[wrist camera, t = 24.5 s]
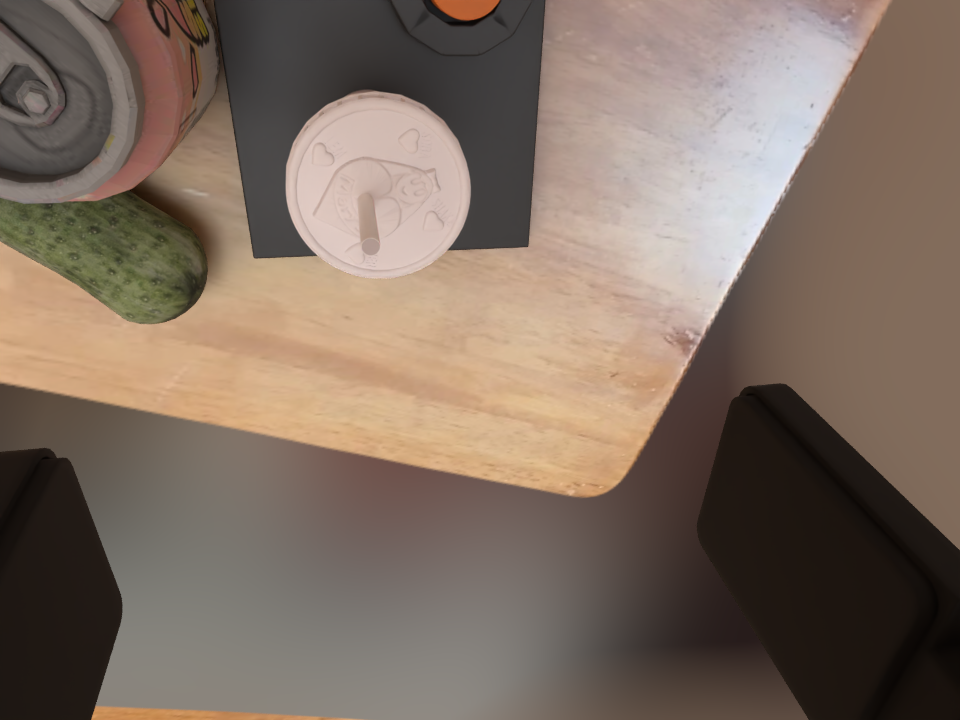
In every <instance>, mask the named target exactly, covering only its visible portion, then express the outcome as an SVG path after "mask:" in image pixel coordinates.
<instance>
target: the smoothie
mask: <svg viewBox="0 0 960 720" xmlns="http://www.w3.org/2000/svg"><path fill="white" fill-rule="evenodd" d="M470 197H471V185H470V176H469V171H468V167H467V162H466V160H465V157H464V154H463V152H462V149H461V147H460V144H459V141H458V140H457V138H456V137H455V135H454V134H453V133H452V131H451V130H450V129H449V127H448V126H447V124H446V123H445V122H444V120H442V119H441V118H440V117H439V116H437V115H436V114H435V113H434V112H432V111H431V110H430V109H429V108H427V107H426V106H425V105H423V104H421V103H419V102H416V101H414V100H412V99H409V98H407V97H405V96H403V95H399V94H392V93H385V92H378V91H375V90H359V91H355V92H352V93H350V94H348V95H346V96H345V97H343V98H341V99H339V100H336V101H334V102H332V103H329V104H327V105H326V106H324V107H323V108H322V109H321V110H320V111H319V112H317V113H316V114H315V115H314V116H313V117H311V118H310V119H309V120H308V121H307V122H306V124H305V125H304V127H303V128H302V130H301V131H300V133H299V134H298V136H297V137H296V139H295V140H294V142H293V145H292V148H291V151H290V155H289V158H288V161H287V164H286V199H287V205H288V209H289V213H290V215H291V218H292V221H293V223H294V225H295V227H296V229H297V231H298V233H299V234H300V236H301V238H302V239H303V240H304V242H305V243H306V244H307V245H308V247H309V248H310V249H311V250H312V251H313V252H314V253H315V254H316V255H317V256H319V257H320V258H321V259H322V260H324V261H325V262H327V263H328V264H330V265H331V266H333V267H335V268H337V269H339V270H341V271H343V272H346V273H348V274H352V275H355V276H359V277H364V278H371V279H390V278H397V277H401V276H405V275H409V274H412V273H414V272H417V271H419V270H421V269H423V268H425V267H427V266H428V265H430V264H431V263H433V262H434V261H436V260H437V259H438V258H439V257H441V256H442V255H443V254H444V253H445V252H446V251H447V250H448V249H449V248H450V246H451V245H452V244H453V243H454V241H455V240H456V238H457V237H458V235H459V233H460V231H461V230H462V228H463V225H464V223H465V220H466V217H467V214H468V210H469V205H470Z"/></svg>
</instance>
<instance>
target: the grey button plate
mask: <svg viewBox="0 0 960 720" xmlns="http://www.w3.org/2000/svg"><path fill="white" fill-rule="evenodd" d="M214 5H215V11H216V18H217V24H218V31H219V37H220V44H221V50H222V57H223V63H224V69H225V76H226V82H227V89H228V95H229V102H230V108H231V115H232V121H233V128H234V134H235V140H236V147H237V153H238V160H239V166H240V173H241V179H242V186H243V192H244V198H245V205H246V211H247V218H248V224H249V231H250V237H251V244H252V250H253V257H254V258H278V257H302V256H317V255H316V254H315V253H314V252H313V251H312V250H311V249H310V248H309V247H308V245H307V244H306V243H305V242H304V240H303V239H302V238H301V236H300V234H299V233H298V231H297V229H296V227H295V225H294V223H293V221H292V218H291V215H290V213H289V209H288V205H287V199H286V164H287V161H288V158H289V155H290V151H291V148H292V145H293V142H294V140H295V139H296V137H297V136H298V134H299V133H300V131H301V130H302V128H303V127H304V125H305V124H306V122H307V121H308V120H309V119H310V118H311V117H313V116H314V115H315V114H316V113H317V112H319V111H320V110H321V109H322V108H323V107H324V106H326V105H327V104H329V103H332V102H334V101H336V100H339V99H341V98H343V97H345V96H346V95H348V94H350V93H352V92H355V91H359V90H375V91H378V92H385V93H392V94H399V95H403V96H405V97H407V98H409V99H412V100H414V101H416V102H419V103H421V104H423V105H425V106H426V107H427V108H429V109H430V110H431V111H432V112H434V113H435V114H436V115H437V116H439V117H440V118H441V119H442V120H444V122H445V123H446V124H447V126H448V127H449V129H450V130H451V131H452V133H453V134H454V135H455V137H456V138H457V140H458V141H459V144H460V147H461V149H462V152H463V154H464V157H465V160H466V162H467V167H468V171H469V176H470V185H471V197H470V205H469V210H468V214H467V217H466V220H465V223H464V225H463V228H462V230H461V231H460V233H459V235H458V237H457V238H456V240H455V241H454V243H453V244H452V245H451V246H450V248H449V249H448V250H470V249H494V248H518V247H528V244H529V229H530V215H531V201H532V186H533V172H534V157H535V143H536V129H537V114H538V100H539V86H540V71H541V57H542V42H543V28H544V14H545V0H500V1H499V3H498V4H497V5H496V6H495V8H494V9H493V10H492V11H491V12H489V13H488V14H487V15H485V16H483V17H481V18H478V19H475V20H459V19H455V18H453V17H451V16H449V15H447V14H445V13H443V12H442V11H440V10H439V9H438V8H437V7H436V6H435V5H434V4H433V3H432V1H431V0H214Z"/></svg>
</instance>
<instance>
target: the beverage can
mask: <svg viewBox="0 0 960 720" xmlns="http://www.w3.org/2000/svg"><path fill="white" fill-rule="evenodd" d="M219 67H220V57H219V51H218V44H217V37H216V31H215V28H214V26H213V23H212V21H211V19H210V17H209V15H208V12H207V10H206V8H205V6H204V4H203V1H202V0H0V198H3V199H7V200H11V201H15V202H19V203H23V204H32V203H63V202H65V201H98V200H101V199H104V198H107V197H110V196H112V195H115V194H118V193H121V192H124V191H127V190H130V189H133V188H134V187H135V186H136V185H138V184H139V183H140V182H141V181H143V180H144V179H145V178H146V177H148V176H149V175H150V174H151V173H152V172H154V171H155V170H156V169H157V168H159V167H160V166H161V165H162V163H163V162H164V161H165V160H166V159H167V157H168V156H169V155H170V154H171V153H172V151H173V150H174V149H175V148H176V147H177V145H178V144H179V143H180V142H181V141H182V139H183V138H184V137H185V136H186V135H187V133H188V132H189V131H190V130H191V129H192V128H193V126H194V125H195V124H196V123H197V122H198V120H199V119H200V118H201V117H202V115H203V113H204V111H205V110H206V108H207V106H208V104H209V103H210V101H211V99H212V97H213V95H214V94H215V91H216V85H217V79H218V73H219Z"/></svg>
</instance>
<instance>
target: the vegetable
mask: <svg viewBox="0 0 960 720" xmlns="http://www.w3.org/2000/svg"><path fill="white" fill-rule="evenodd" d="M0 241H1V242H2V243H4V244H6V245H8V246H9V247H11V248H13V249H15V250H16V251H18V252H20V253H22V254H24V255H25V256H27V257H29V258H31V259H33V260H34V261H36V262H38V263H40V264H42V265H44V266H45V267H47V268H49V269H51V270H53V271H55V272H56V273H58V274H60V275H61V276H63V277H65V278H67V279H68V280H70V281H72V282H73V283H75V284H77V285H78V286H80V287H81V288H82V289H84V290H85V291H87V292H88V293H89V294H91V295H92V296H94V297H95V298H96V299H98V300H99V301H100V302H102V303H103V304H105V305H106V306H107V307H109V308H110V309H111V310H113V311H114V312H116V313H117V314H118V315H120V316H121V317H122V318H124V319H126V320H127V321H130V322H135V323H139V324H157V323H163V322H167V321H169V320H172V319H175V318H177V317H178V316H180V315H182V314H183V313H185V312H186V311H188V310H189V309H190V308H191V307H192V306H193V305H194V304H195V303H196V302H197V301H198V299H199V298H200V296H201V294H202V292H203V290H204V287H205V284H206V280H207V272H208V268H207V258H206V254H205V251H204V248H203V246H202V244H201V242H200V240H199V238H198V237H197V235H196V234H195V233H194V232H193V231H192V229H191V228H189V227H187V226H186V225H184V224H183V223H181V222H179V221H178V220H176V219H174V218H173V217H171V216H169V215H168V214H166V213H164V212H163V211H161V210H159V209H158V208H156V207H154V206H153V205H151V204H149V203H148V202H146V201H144V200H143V199H141V198H140V197H138V196H137V195H135V194H134V193H132V192H131V191H129V190H127V191H124V192H121V193H118V194H115V195H112V196H110V197H107V198H104V199H101V200H98V201H65V202H63V203H32V204H23V203H19V202H15V201H11V200H7V199H3V198H0Z"/></svg>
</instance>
